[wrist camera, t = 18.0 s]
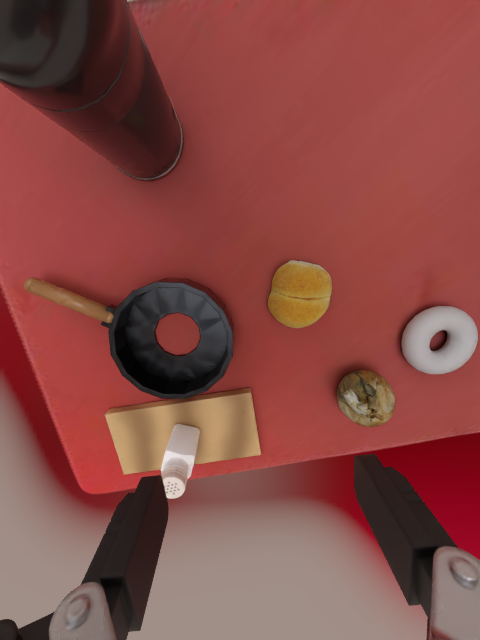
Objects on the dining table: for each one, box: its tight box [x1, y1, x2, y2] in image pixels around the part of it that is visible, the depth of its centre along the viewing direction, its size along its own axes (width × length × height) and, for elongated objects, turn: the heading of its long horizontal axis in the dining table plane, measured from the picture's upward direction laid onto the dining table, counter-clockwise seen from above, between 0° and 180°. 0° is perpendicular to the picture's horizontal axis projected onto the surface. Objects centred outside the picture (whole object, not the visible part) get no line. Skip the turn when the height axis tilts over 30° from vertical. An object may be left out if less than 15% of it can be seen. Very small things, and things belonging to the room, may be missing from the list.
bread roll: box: [268, 260, 332, 328], centre depth 36 cm, size 8×9×4 cm
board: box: [105, 388, 261, 475], centre depth 42 cm, size 22×11×2 cm, turn 99°
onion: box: [337, 370, 395, 427], centre depth 38 cm, size 8×8×8 cm
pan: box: [24, 277, 233, 399], centre depth 36 cm, size 27×16×4 cm, turn 66°
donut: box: [401, 306, 478, 374], centre depth 38 cm, size 10×4×10 cm
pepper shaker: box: [161, 424, 200, 498], centre depth 37 cm, size 4×4×10 cm
